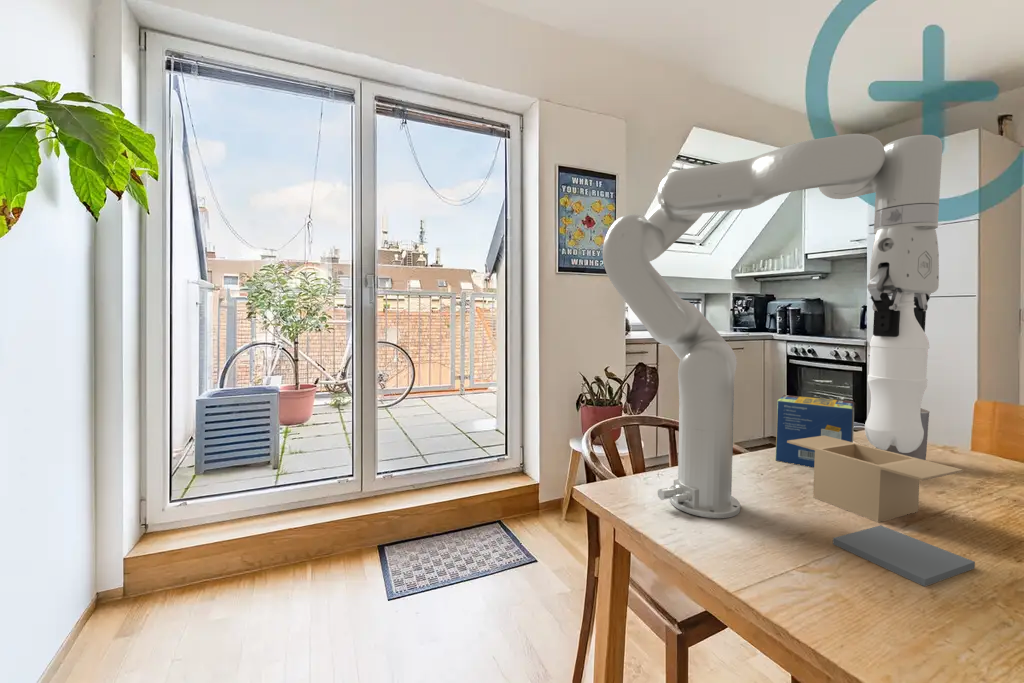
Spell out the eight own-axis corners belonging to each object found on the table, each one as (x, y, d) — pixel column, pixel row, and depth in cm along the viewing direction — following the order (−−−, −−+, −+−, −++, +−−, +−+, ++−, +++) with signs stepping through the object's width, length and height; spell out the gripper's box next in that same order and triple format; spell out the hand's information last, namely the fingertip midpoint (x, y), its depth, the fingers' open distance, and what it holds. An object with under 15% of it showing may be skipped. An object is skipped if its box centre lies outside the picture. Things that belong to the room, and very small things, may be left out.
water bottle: (897, 442, 75) (906, 293, 73) (935, 455, 68) (946, 291, 66) (853, 441, 75) (861, 293, 74) (886, 454, 68) (896, 291, 67)
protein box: (781, 451, 120) (783, 394, 119) (852, 463, 110) (855, 401, 110) (774, 461, 112) (776, 400, 111) (850, 474, 102) (853, 408, 102)
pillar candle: (865, 457, 114) (868, 400, 113) (891, 454, 117) (895, 398, 116) (908, 470, 105) (912, 408, 104) (936, 466, 108) (940, 405, 107)
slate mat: (924, 586, 60) (925, 579, 60) (832, 544, 71) (833, 538, 71) (974, 568, 64) (975, 561, 64) (880, 531, 75) (880, 525, 75)
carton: (919, 538, 73) (922, 478, 72) (785, 486, 95) (786, 440, 94) (959, 526, 77) (962, 469, 76) (822, 479, 99) (824, 435, 99)
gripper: (902, 211, 63) (895, 338, 64) (965, 221, 69) (958, 336, 70) (844, 221, 69) (839, 335, 70) (907, 230, 76) (901, 334, 77)
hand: (898, 335), depth 70 cm, fingers closed on water bottle, 6 cm apart
